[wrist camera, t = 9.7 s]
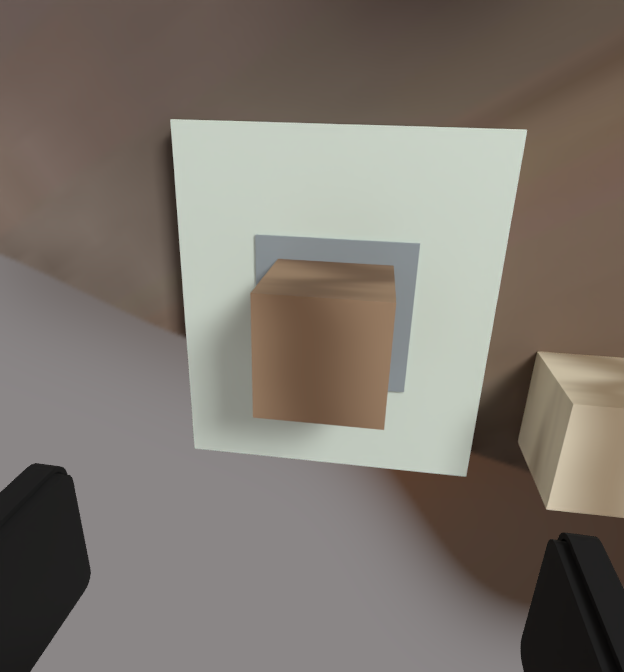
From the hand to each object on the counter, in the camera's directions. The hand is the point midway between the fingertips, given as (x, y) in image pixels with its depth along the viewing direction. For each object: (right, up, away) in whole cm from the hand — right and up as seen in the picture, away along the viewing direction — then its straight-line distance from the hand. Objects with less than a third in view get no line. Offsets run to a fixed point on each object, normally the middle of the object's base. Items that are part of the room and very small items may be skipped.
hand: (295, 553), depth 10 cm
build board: (+1, +6, +14) cm, 15 cm away
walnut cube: (+1, +5, +13) cm, 14 cm away
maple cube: (+13, +1, +14) cm, 20 cm away
